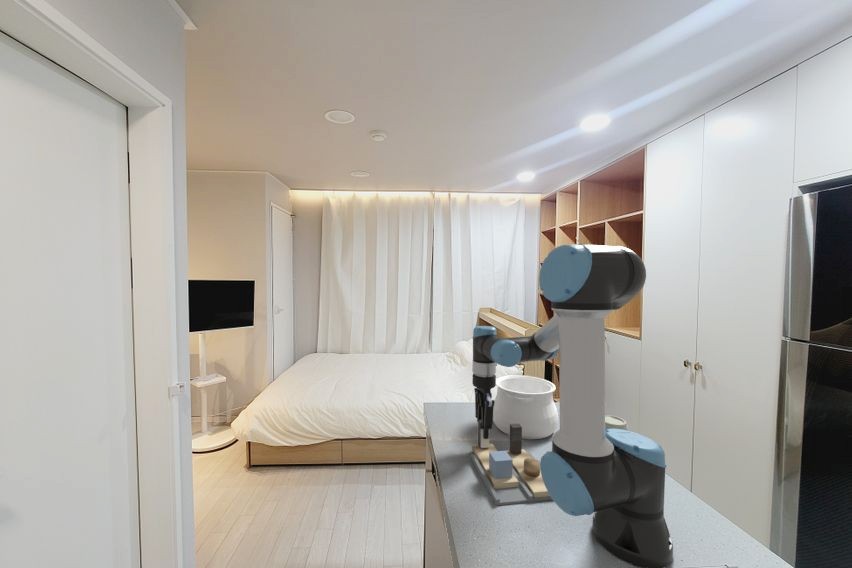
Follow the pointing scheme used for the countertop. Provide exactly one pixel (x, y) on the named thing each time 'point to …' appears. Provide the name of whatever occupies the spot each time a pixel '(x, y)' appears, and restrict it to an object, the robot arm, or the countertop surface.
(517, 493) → the lane board
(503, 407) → the pot
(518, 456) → the strip
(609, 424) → the coffee cup
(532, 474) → the brown rounded piece
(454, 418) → the countertop surface
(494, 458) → the blue block
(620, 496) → the robot arm
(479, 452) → the strip
